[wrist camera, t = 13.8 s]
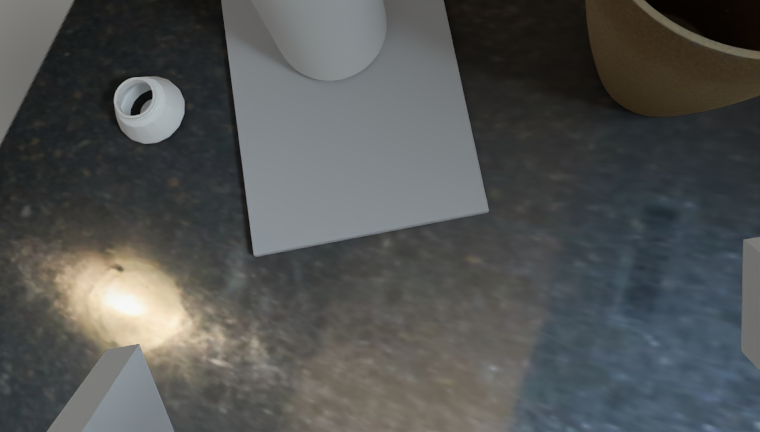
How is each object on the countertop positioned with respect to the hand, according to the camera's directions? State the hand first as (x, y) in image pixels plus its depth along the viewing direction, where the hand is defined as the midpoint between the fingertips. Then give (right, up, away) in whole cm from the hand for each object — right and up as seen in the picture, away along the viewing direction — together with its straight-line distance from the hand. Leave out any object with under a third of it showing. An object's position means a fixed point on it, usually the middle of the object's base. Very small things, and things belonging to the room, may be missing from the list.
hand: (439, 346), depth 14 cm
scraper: (-4, +14, +31) cm, 34 cm away
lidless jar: (-18, +10, +32) cm, 38 cm away
